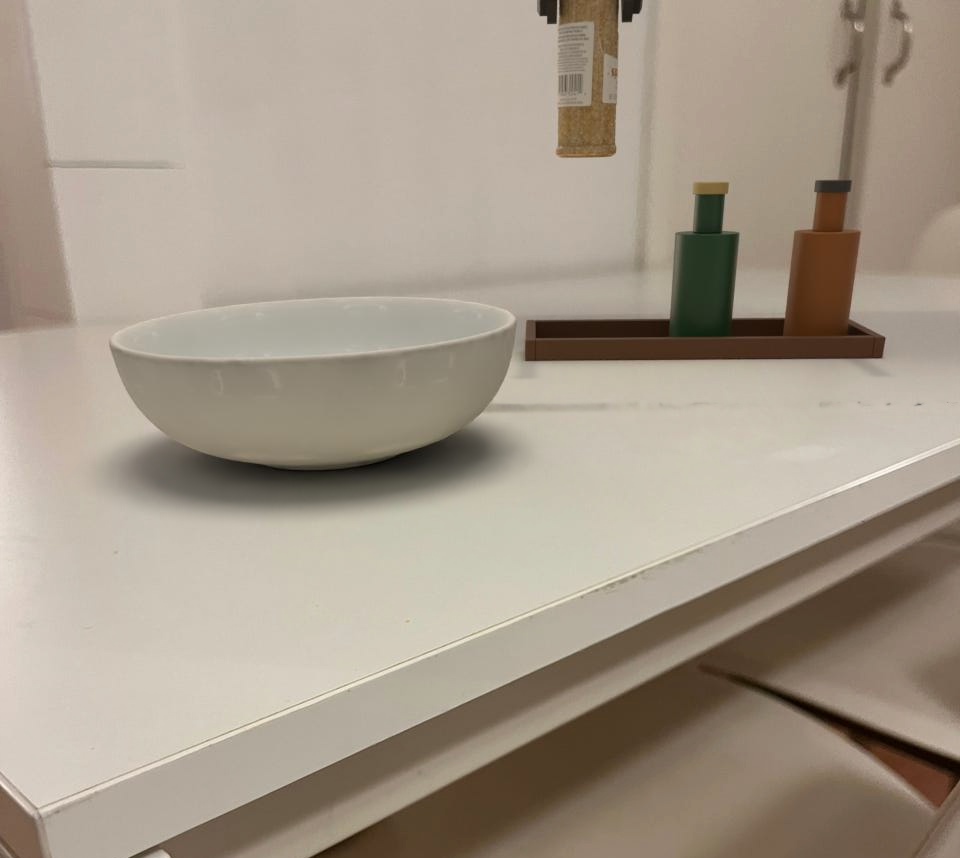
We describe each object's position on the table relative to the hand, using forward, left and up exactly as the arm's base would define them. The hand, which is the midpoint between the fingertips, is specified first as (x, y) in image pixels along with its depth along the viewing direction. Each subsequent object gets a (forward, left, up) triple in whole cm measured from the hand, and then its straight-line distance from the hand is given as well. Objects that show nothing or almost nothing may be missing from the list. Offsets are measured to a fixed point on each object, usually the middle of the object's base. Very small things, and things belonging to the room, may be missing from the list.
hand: (590, 11), depth 69 cm
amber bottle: (-18, -2, -23) cm, 29 cm away
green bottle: (-9, -2, -23) cm, 25 cm away
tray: (-9, -2, -23) cm, 25 cm away
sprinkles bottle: (0, -2, -9) cm, 9 cm away
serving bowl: (+15, +27, -24) cm, 39 cm away
